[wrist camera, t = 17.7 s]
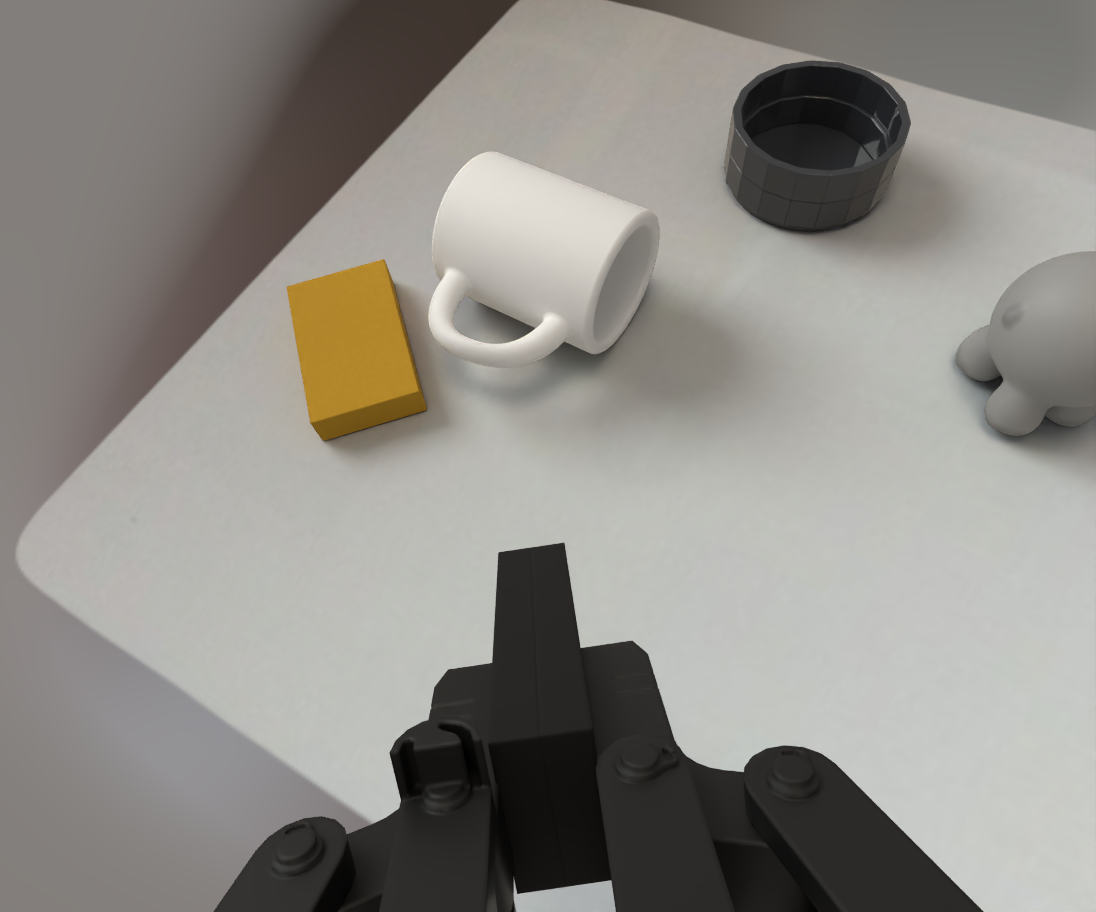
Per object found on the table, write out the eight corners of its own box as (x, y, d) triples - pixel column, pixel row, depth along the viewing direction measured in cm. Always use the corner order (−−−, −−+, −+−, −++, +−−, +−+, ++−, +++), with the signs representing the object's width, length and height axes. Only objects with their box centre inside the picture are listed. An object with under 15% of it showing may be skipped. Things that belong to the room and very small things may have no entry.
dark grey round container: (764, 253, 45) (778, 195, 41) (699, 145, 50) (707, 85, 46) (916, 208, 46) (944, 148, 42) (838, 107, 51) (856, 43, 47)
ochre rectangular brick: (323, 441, 41) (310, 423, 40) (298, 307, 46) (286, 286, 44) (427, 410, 42) (419, 391, 40) (392, 280, 46) (383, 258, 45)
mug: (518, 227, 48) (502, 119, 41) (657, 285, 45) (665, 179, 38) (406, 363, 43) (366, 269, 36) (551, 437, 40) (538, 350, 33)
